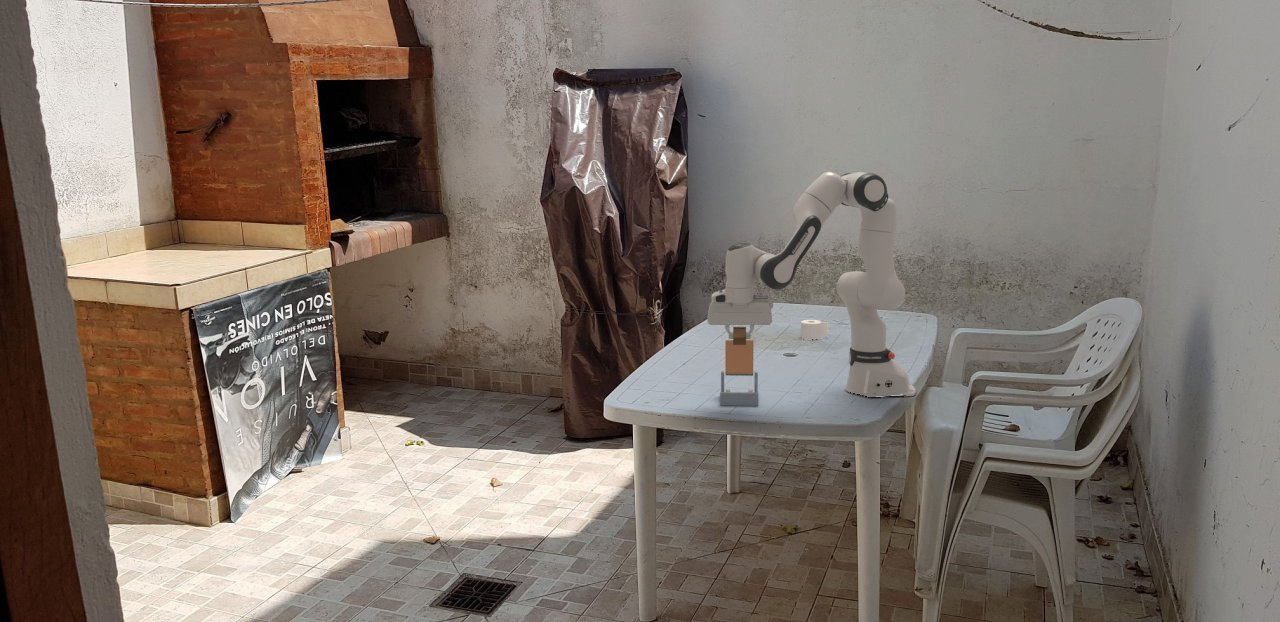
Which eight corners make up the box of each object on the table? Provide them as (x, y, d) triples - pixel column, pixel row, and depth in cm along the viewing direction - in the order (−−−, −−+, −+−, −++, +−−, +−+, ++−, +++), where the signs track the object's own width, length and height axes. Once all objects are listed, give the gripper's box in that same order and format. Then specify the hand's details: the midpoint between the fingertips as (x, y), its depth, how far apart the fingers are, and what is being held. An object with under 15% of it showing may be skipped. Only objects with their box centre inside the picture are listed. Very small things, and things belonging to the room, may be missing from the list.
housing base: (757, 396, 319) (757, 371, 318) (758, 405, 309) (758, 380, 307) (720, 395, 320) (720, 371, 319) (720, 405, 310) (720, 380, 308)
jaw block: (746, 344, 307) (746, 329, 306) (733, 344, 307) (733, 329, 306) (746, 342, 311) (746, 326, 310) (733, 341, 311) (733, 326, 310)
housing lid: (753, 375, 317) (753, 375, 317) (753, 340, 316) (753, 340, 317) (725, 375, 318) (725, 375, 318) (725, 340, 317) (725, 340, 318)
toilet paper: (829, 337, 402) (830, 320, 400) (813, 341, 394) (813, 324, 393) (813, 334, 408) (813, 317, 406) (796, 338, 400) (797, 321, 399)
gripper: (772, 293, 308) (772, 336, 311) (707, 293, 310) (707, 336, 313) (773, 297, 302) (773, 340, 305) (707, 297, 304) (707, 340, 307)
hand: (739, 338), depth 309 cm, fingers closed on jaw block, 4 cm apart
